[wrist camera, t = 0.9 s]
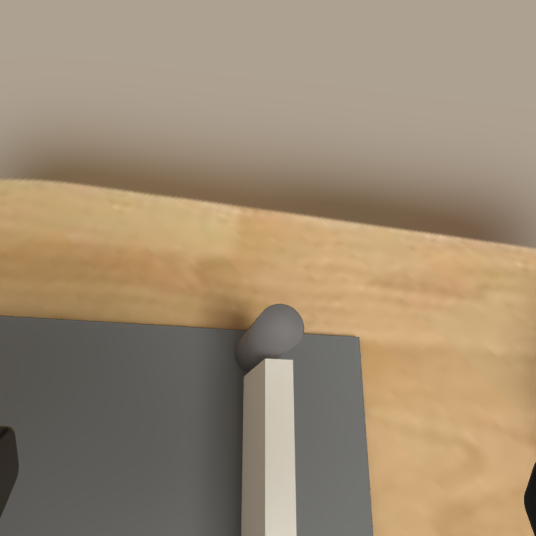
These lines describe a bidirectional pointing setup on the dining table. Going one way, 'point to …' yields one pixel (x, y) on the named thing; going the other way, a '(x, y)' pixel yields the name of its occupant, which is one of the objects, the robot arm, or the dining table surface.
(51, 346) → the plate with peg
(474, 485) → the dining table surface
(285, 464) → the gate
